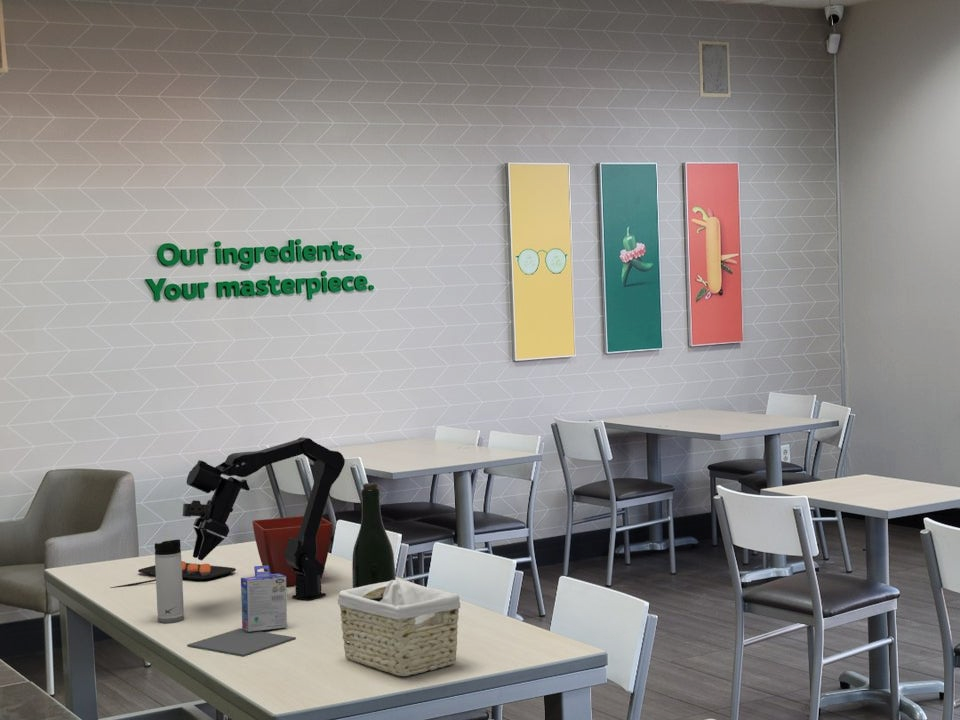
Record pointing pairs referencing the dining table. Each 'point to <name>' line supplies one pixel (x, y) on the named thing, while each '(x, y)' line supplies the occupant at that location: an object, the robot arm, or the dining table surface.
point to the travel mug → (169, 581)
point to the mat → (241, 642)
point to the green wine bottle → (372, 544)
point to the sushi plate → (190, 572)
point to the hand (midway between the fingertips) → (197, 558)
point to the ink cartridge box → (263, 601)
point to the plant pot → (286, 543)
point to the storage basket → (400, 627)
